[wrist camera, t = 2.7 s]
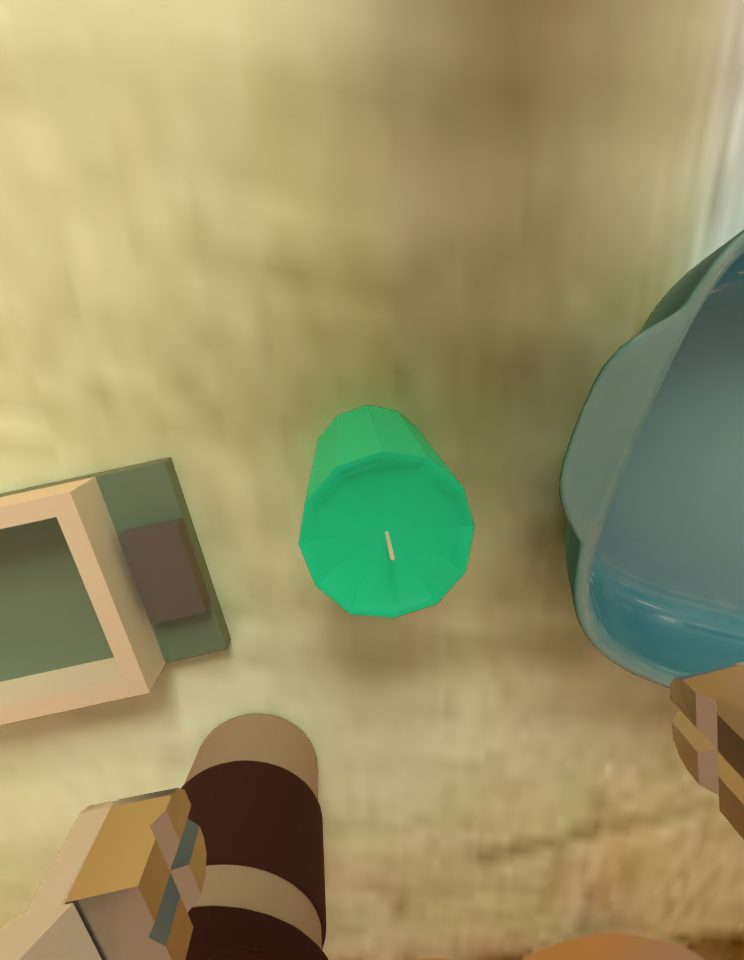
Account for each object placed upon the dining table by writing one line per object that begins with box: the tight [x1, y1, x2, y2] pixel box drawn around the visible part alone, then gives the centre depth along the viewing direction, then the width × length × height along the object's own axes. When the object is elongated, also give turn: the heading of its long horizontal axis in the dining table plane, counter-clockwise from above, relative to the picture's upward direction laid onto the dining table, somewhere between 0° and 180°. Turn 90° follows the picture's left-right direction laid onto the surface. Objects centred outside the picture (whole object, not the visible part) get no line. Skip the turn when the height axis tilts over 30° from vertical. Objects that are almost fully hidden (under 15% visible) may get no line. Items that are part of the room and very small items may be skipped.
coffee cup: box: [181, 714, 328, 960], centre depth 25 cm, size 10×10×15 cm
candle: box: [299, 405, 474, 618], centre depth 22 cm, size 6×6×12 cm
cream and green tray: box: [0, 457, 231, 725], centre depth 26 cm, size 15×11×4 cm
